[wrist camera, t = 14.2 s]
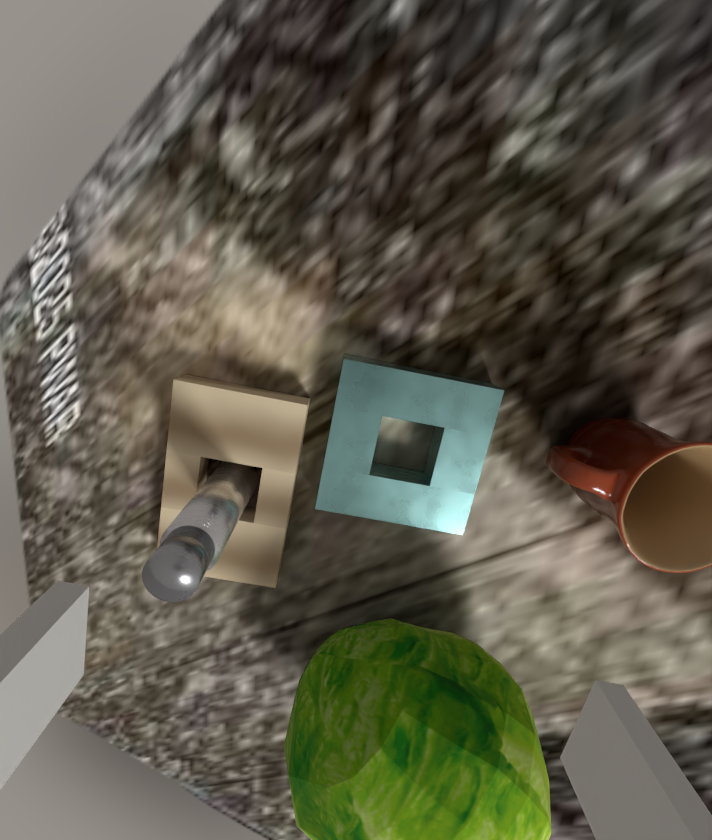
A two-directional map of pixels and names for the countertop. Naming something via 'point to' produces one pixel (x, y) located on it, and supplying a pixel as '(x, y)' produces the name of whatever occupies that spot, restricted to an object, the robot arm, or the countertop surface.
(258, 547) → the wooden square-hole plate
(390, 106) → the countertop surface
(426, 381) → the socket
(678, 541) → the mug
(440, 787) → the lettuce
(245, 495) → the metal cylinder rod
